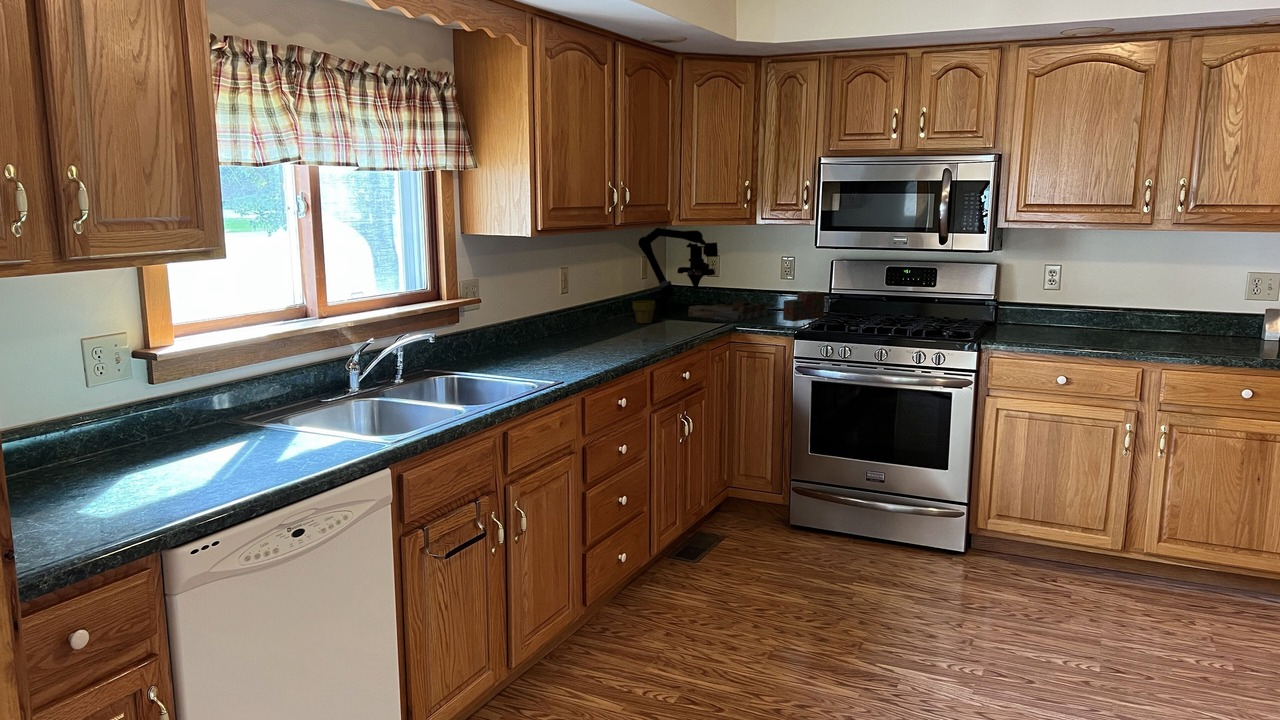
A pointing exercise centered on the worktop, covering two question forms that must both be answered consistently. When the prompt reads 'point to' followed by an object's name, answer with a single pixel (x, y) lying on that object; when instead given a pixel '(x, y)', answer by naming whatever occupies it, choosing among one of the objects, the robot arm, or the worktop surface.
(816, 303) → the stack of blocks
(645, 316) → the plant pot
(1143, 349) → the worktop surface
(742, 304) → the walnut block
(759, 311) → the trap deck
